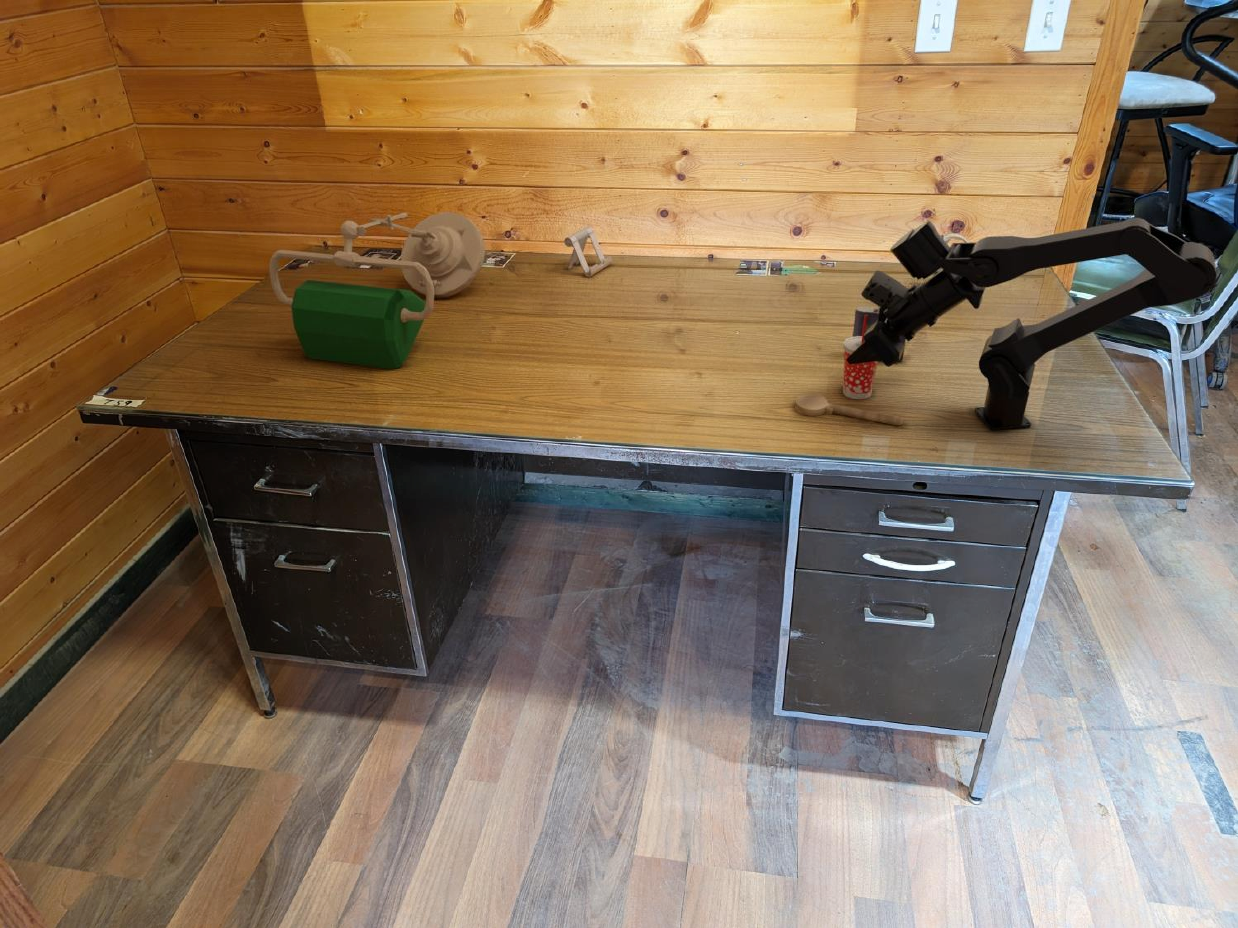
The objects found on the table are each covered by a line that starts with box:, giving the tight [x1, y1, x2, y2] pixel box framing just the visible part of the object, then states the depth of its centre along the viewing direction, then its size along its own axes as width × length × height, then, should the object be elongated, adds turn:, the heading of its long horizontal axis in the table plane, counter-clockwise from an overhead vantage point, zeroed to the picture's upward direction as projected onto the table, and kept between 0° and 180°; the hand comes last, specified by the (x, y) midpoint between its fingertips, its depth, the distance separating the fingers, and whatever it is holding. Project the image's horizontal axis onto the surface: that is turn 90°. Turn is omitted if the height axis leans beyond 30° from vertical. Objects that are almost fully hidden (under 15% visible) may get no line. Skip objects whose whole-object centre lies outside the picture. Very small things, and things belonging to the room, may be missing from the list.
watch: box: [932, 232, 969, 277], centre depth 185 cm, size 6×8×11 cm
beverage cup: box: [842, 315, 879, 400], centre depth 147 cm, size 6×6×14 cm
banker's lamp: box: [269, 211, 486, 370], centre depth 178 cm, size 35×42×39 cm
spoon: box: [794, 393, 904, 426], centre depth 144 cm, size 17×5×1 cm, turn 64°
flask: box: [851, 306, 907, 364], centre depth 158 cm, size 9×3×11 cm, turn 65°
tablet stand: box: [563, 225, 613, 278], centre depth 201 cm, size 9×8×8 cm
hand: (853, 353), depth 147 cm, fingers closed on beverage cup, 6 cm apart
